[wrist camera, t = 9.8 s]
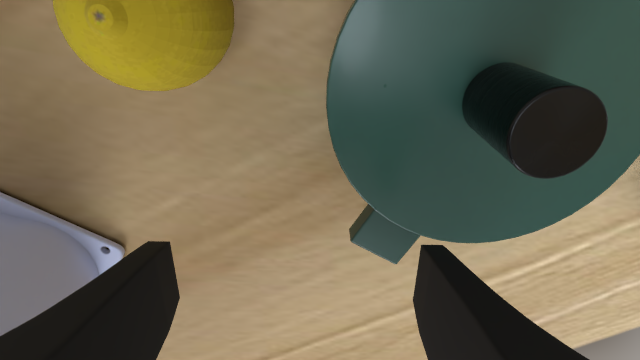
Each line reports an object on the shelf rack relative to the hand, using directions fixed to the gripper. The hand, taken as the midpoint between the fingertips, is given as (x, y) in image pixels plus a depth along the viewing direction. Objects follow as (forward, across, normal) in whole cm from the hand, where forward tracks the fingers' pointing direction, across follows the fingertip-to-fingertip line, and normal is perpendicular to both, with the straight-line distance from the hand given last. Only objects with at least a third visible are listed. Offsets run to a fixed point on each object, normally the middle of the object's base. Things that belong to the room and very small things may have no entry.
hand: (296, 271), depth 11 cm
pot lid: (+4, -6, -4) cm, 9 cm away
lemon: (+11, +5, -7) cm, 14 cm away
